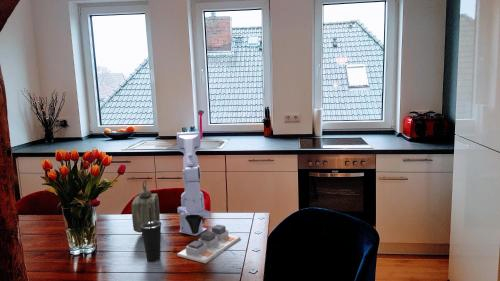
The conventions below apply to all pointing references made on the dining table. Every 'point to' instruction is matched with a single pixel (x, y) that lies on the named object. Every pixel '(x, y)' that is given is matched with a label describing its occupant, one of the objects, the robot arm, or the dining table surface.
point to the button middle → (207, 236)
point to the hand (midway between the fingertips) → (195, 233)
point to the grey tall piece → (144, 208)
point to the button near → (196, 244)
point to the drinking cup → (152, 238)
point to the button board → (209, 247)
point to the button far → (218, 229)
